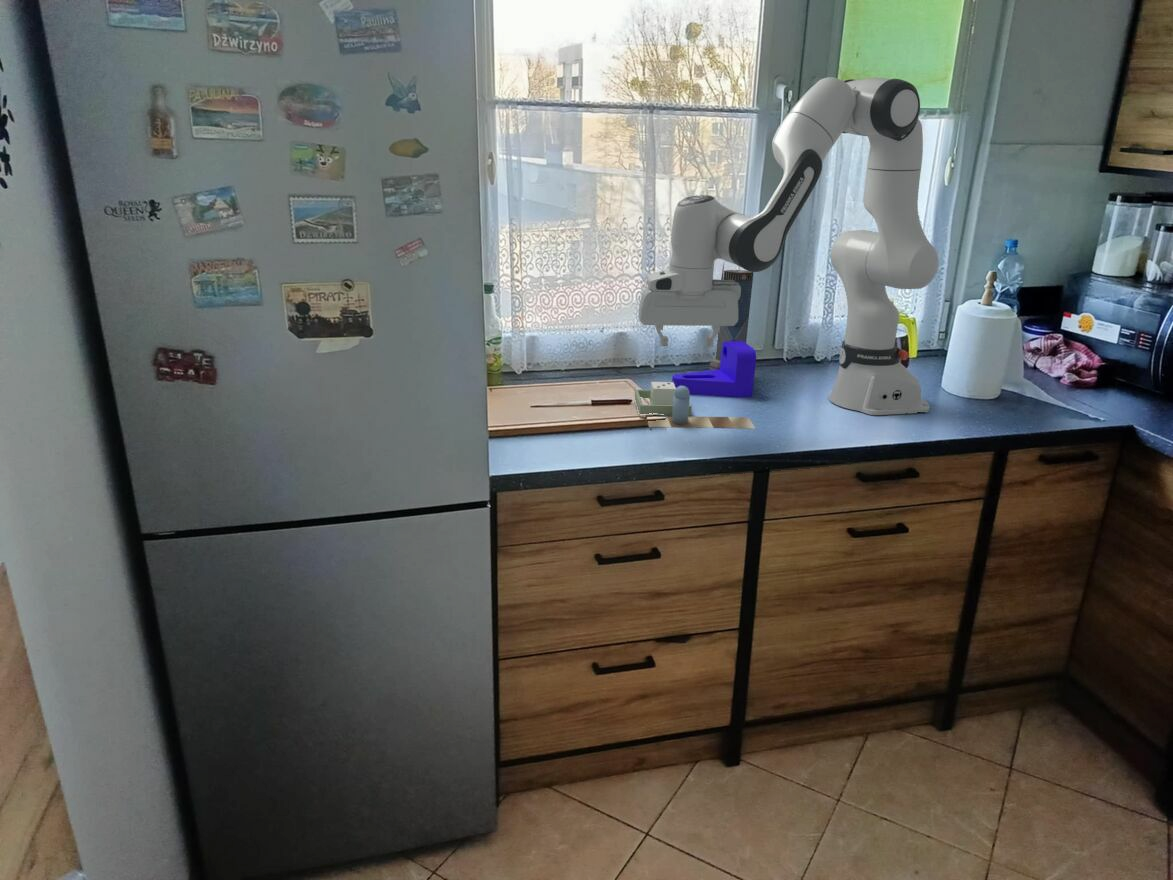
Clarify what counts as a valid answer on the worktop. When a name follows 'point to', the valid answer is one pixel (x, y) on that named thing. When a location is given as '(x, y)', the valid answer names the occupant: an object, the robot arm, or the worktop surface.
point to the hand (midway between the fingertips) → (686, 345)
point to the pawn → (680, 405)
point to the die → (662, 393)
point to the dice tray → (653, 408)
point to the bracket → (724, 373)
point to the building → (741, 327)
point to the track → (706, 422)
